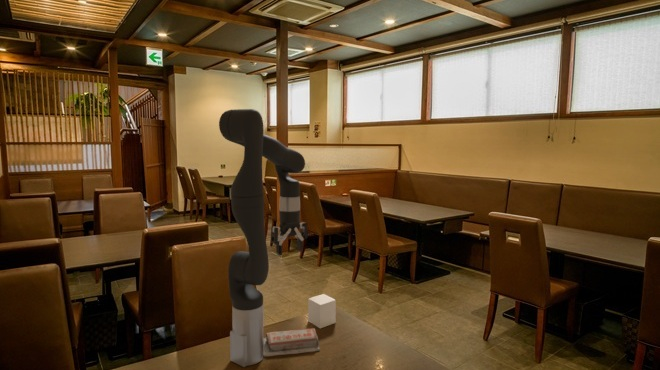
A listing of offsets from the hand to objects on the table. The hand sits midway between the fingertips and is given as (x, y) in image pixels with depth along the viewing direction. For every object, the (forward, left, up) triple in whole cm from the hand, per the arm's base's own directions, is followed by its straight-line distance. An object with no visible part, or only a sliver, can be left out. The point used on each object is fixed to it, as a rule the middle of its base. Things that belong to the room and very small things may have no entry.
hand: (289, 252), depth 143 cm
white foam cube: (+7, -10, -26) cm, 29 cm away
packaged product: (-13, -12, -27) cm, 32 cm away
